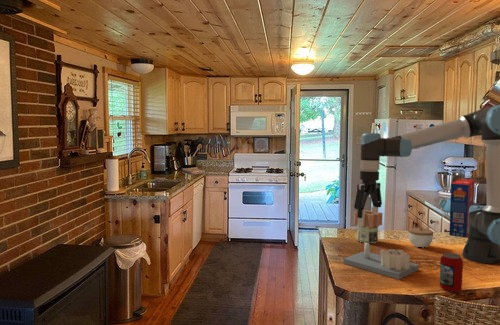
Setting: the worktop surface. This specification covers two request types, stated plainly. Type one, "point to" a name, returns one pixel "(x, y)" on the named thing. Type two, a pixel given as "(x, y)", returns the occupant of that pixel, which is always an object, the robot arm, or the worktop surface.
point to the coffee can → (367, 234)
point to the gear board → (377, 264)
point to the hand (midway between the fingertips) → (367, 223)
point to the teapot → (445, 205)
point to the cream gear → (394, 259)
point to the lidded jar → (420, 237)
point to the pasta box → (461, 206)
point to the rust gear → (370, 218)
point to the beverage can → (451, 272)
